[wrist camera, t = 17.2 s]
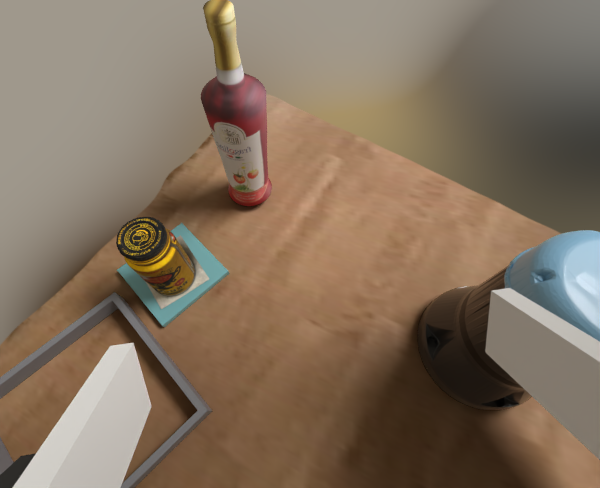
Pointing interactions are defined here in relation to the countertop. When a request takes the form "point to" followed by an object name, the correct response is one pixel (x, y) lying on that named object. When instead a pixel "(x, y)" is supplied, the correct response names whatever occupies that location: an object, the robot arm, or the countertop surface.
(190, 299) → the coaster
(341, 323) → the countertop surface
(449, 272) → the countertop surface
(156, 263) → the condiment
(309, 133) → the countertop surface
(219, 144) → the liquor
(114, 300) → the frame
